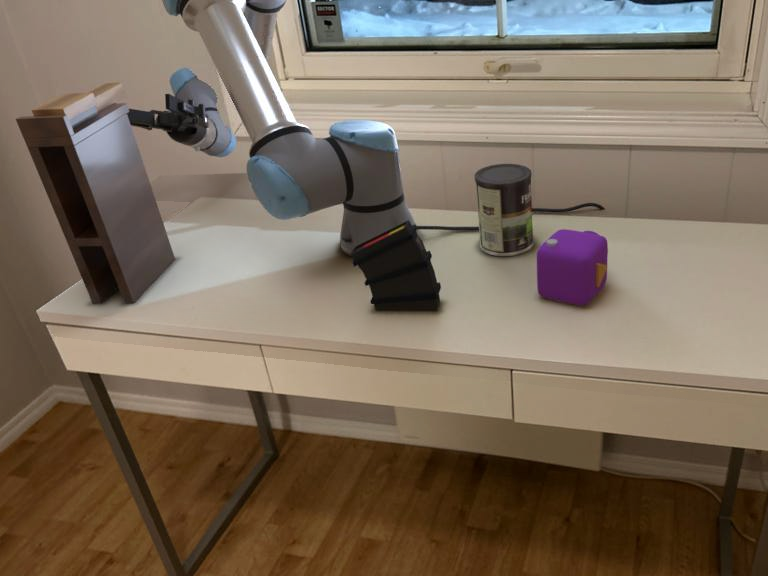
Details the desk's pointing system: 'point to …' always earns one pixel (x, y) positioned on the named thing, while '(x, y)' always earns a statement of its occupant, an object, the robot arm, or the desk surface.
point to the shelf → (101, 200)
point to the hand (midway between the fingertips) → (132, 102)
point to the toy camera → (572, 266)
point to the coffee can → (504, 209)
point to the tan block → (82, 103)
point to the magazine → (398, 270)
